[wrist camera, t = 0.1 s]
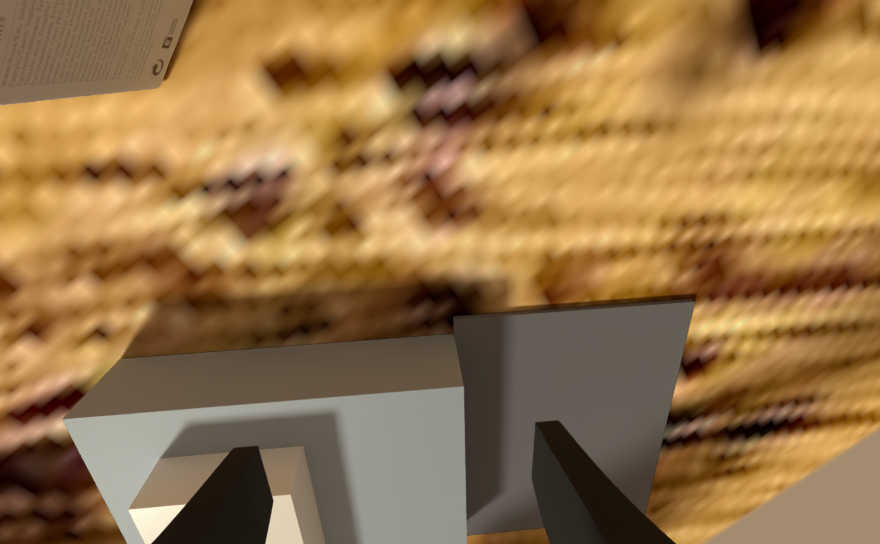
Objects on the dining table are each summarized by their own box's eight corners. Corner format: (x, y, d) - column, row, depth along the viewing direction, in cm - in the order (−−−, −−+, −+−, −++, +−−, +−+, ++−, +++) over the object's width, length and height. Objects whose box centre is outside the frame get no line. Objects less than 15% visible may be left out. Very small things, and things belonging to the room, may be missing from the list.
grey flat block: (459, 521, 28) (467, 589, 24) (199, 547, 27) (167, 621, 24) (453, 333, 22) (463, 386, 18) (120, 358, 21) (62, 419, 18)
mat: (641, 513, 29) (644, 517, 29) (459, 531, 28) (460, 536, 28) (691, 298, 22) (694, 301, 22) (453, 316, 22) (453, 319, 21)
